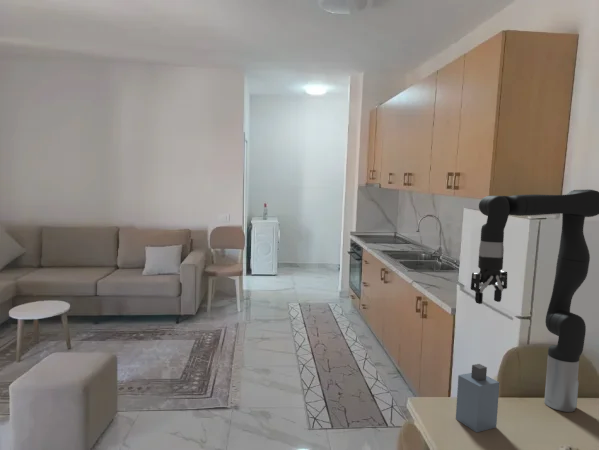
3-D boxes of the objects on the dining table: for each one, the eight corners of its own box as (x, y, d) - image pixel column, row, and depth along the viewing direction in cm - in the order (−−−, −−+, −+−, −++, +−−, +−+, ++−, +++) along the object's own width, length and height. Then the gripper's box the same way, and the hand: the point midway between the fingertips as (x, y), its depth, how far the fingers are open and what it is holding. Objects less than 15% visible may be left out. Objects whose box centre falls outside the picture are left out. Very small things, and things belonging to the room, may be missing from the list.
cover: (475, 414, 139) (478, 359, 138) (496, 427, 131) (500, 369, 130) (455, 418, 136) (459, 362, 134) (476, 432, 128) (480, 373, 127)
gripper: (497, 252, 149) (494, 298, 150) (466, 254, 143) (463, 301, 144) (515, 255, 142) (512, 303, 143) (484, 257, 136) (481, 306, 137)
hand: (488, 302), depth 143 cm, fingers open, 8 cm apart
